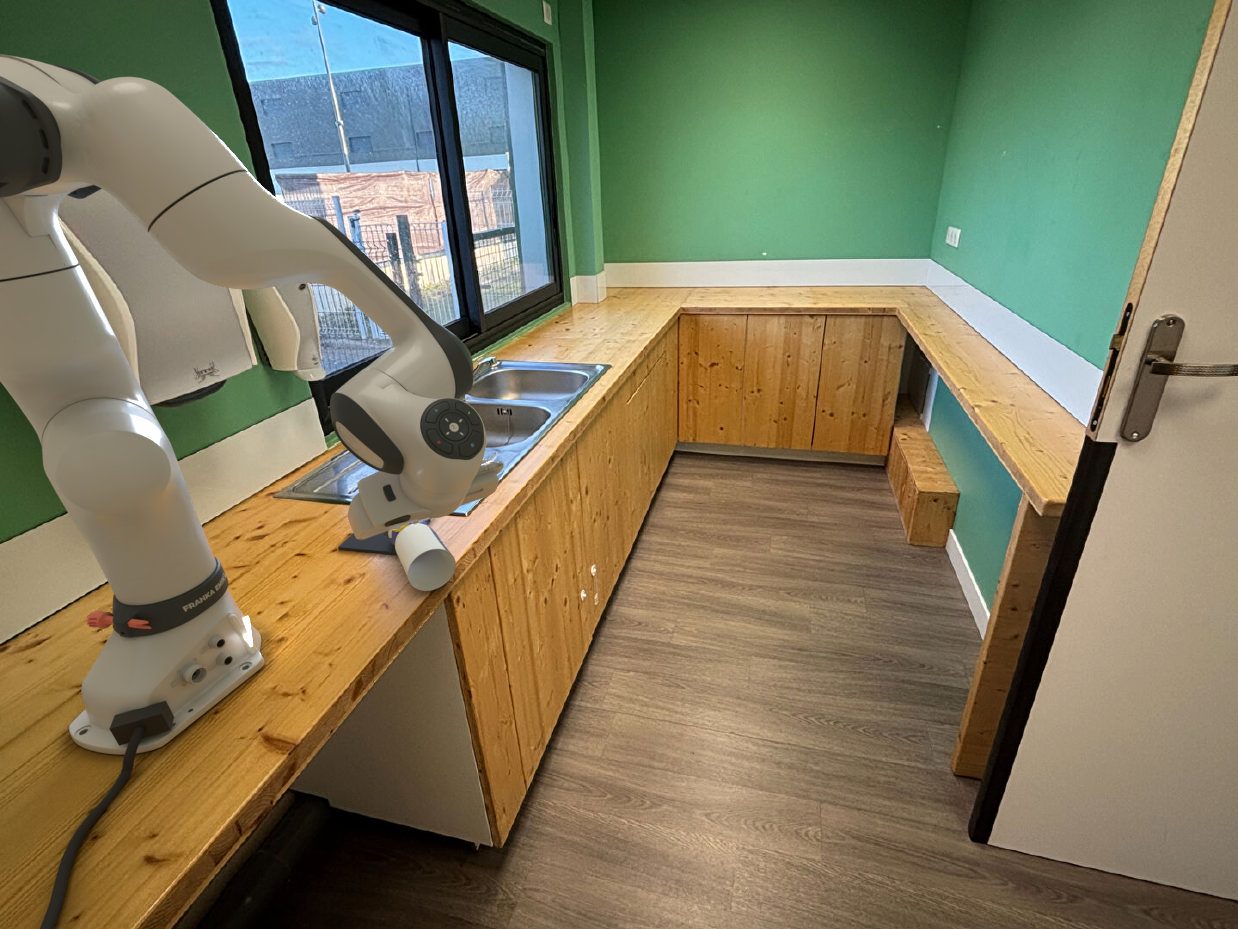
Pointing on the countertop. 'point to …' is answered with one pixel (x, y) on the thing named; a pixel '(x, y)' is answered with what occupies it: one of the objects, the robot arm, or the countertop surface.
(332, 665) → the countertop surface
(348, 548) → the mat
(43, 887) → the countertop surface
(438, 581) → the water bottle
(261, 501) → the countertop surface
